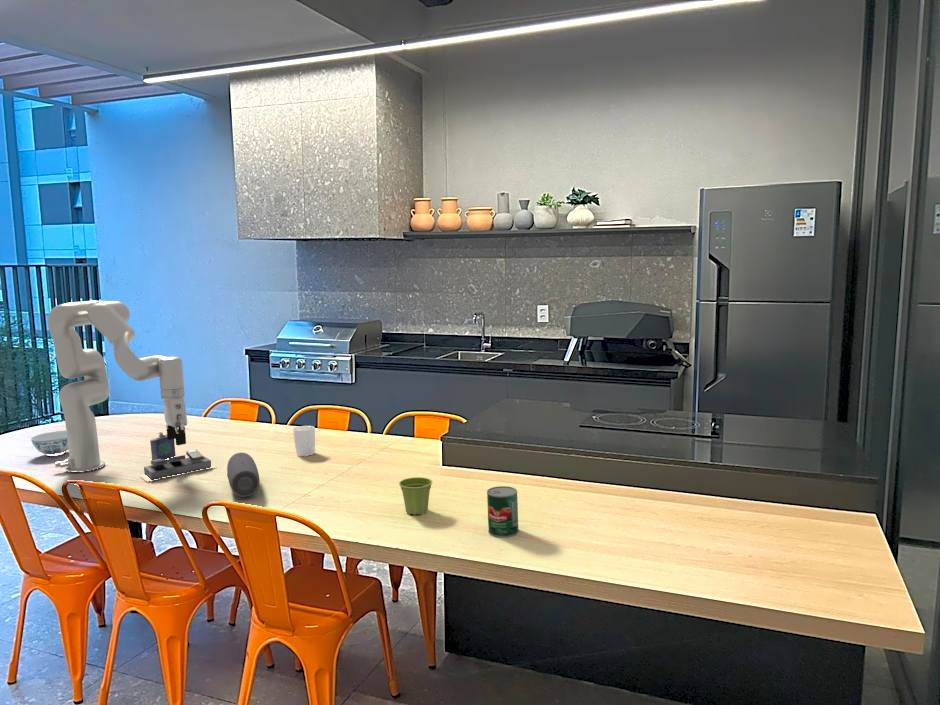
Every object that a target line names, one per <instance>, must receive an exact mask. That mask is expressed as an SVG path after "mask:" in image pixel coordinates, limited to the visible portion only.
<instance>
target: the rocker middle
mask: <svg viewBox="0 0 940 705" xmlns="http://www.w3.org/2000/svg"><path fill="white" fill-rule="evenodd" d="M185 458H186V454H184V455H179V456H176V457H173V458H169V460H168V462H172V461H177V460H182V459H185Z"/></svg>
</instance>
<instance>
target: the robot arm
mask: <svg viewBox="0 0 940 705" xmlns="http://www.w3.org/2000/svg"><path fill="white" fill-rule="evenodd" d="M130 315H131V312H130V310H129V307H127V306H126V304H124V302H121V301H118V300H85V301H73V302H71V301H70V302H66V303H60V304H58V305H56V306H54V307H53V308H52V309H51V310H50V311H49V314H48V316H47V327H48V330H49V333H50V336H51V339H52V342H53V347H54V353H55V357H56V363H57V367H58V371H59V374H60V375H61V377H63V378H65V379H69V380H70V379H76V378H81V377H83V380H78V381H74V382H70V383H68V384H66V385H64V386H62V387H61V389H60V390H59V394H58V399H59V403H60V406H61V409H62V411H63V416H64V423H65V428H66V430H65V431H67V440H68V448H69V449H68V455H69V456H67V458H66V459H64V460H63V461H56V462H54V466H55V468H56V469H57V468H65V471H66V470H68V471H87V470H93V469H97V468H100V467H102V466H104V465H105V466H106V462H105V460H102V459H101V457H100V456H101V454H100V448H99V439H98V438H99V437H98V431H97V428H98V427H97V421H96V416H95V414H94V412H93V411H92V410H91V408H90V407H91V406H94V405H98V404H101V403H102V402H105V401H106V400H107V399H108V397H109V396H110V384H109V377H108V373H107V367H106V362H105V360H104V357H103V356H102V354H101V353H100V352H99V351H98V350H96V349H93V348H83V344H82V340H81V337H80V335H79V334H78V332H77V331H76V330H75V329H74V328H75V327H83V326H90V325H92V326H93V327H94V328H96V329H97V331H99V333H100V334H102V336H103V337H104V338H105V339H106V341H108V342H109V343H110V344H111V346H112V347H113V356H114V359H115V362H116V364H117V366H118V367H119V368H120V369H121V371H123V372H124V373H125V374H126V375H127V376H128V377H129V378H131V379H132V380H134V381H137V382H142V381H147V380H151V379H154V378H159V388H160V389H159V390H160V399H161V400H163V412H164V421H165V423H166V435H167V439H168V440H171V439H174V440H175V445H176V446H181V445H186V444H187V437H186V426H187V425H188V417H187V410H186V403H185V400H184V397H186V394H185V393H186V392H185V380H184V369H183V361H182V358H181V357H179V356H164V355H159V354H155V355H150V356H145V357H141V358H140V357H138V356H137V355H136V354H135V352H133V351H132V349H131V348H130V346H129V344H130V343H131V342H132V341H133V339H134V338H135V335H136V331H135V329H134V328H133V327H132V326H131V325H130V324H129V323H127V322H128V320H129V319H130ZM105 466H104V467H105ZM102 468H103V467H102ZM100 469H101V468H100ZM97 470H98V469H97ZM93 471H94V470H93Z"/></svg>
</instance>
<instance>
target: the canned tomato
mask: <svg viewBox="0 0 940 705" xmlns="http://www.w3.org/2000/svg"><path fill="white" fill-rule="evenodd" d="M486 495H487V498H486V500H487V501H486V502H487V523H488V524H487V525H488V526H487V527H488V534H489V535H490V536H493V537H495V538H510V537H515V536H516V535H518V534H519V533H520V532H519V506H518V505H519V504H518V502H519V501H518V490H517V488H515V487H511V486H508V485H507V486H504V485H503V486H494V487H493V486H492V487H490V488H488V489H487V491H486Z"/></svg>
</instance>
